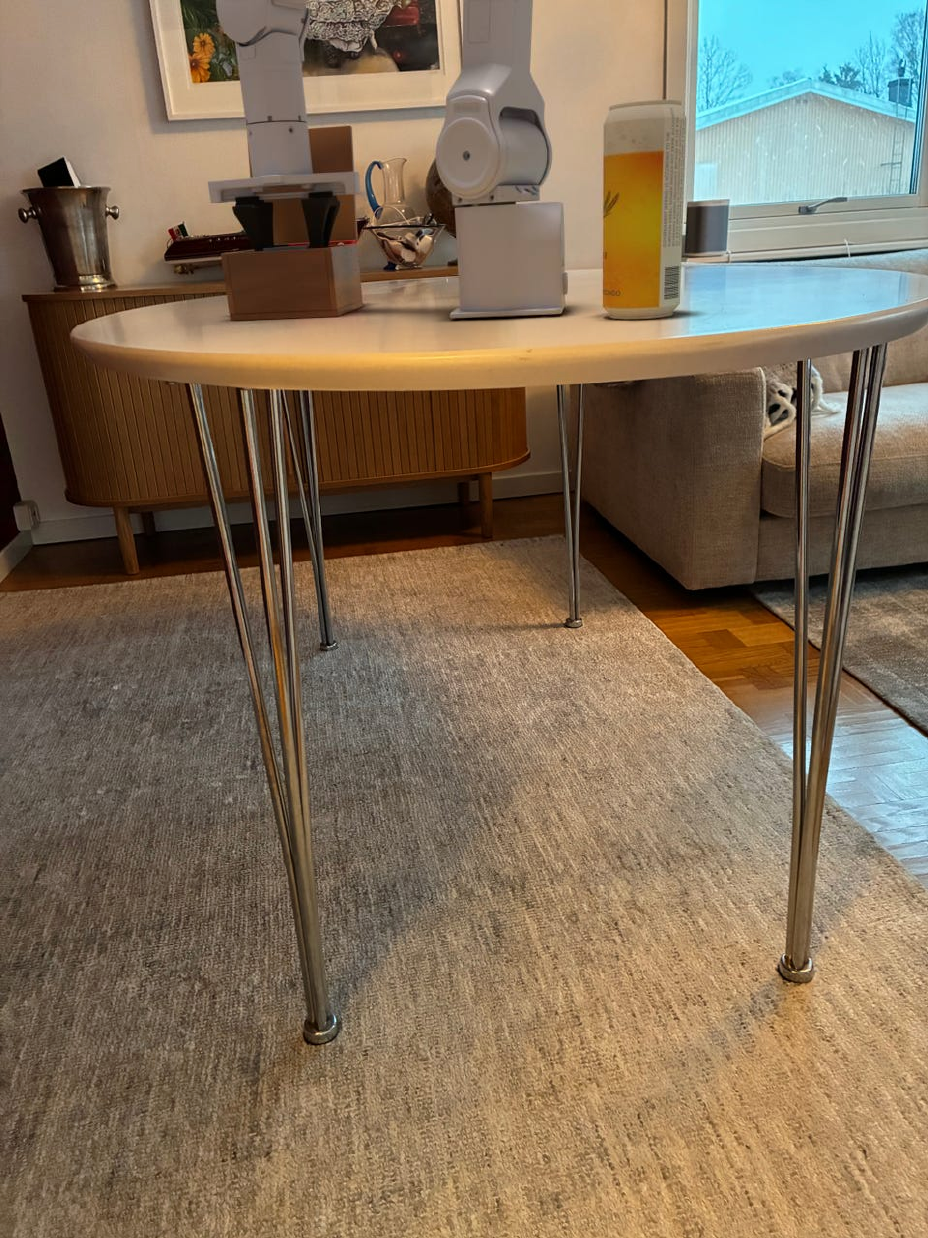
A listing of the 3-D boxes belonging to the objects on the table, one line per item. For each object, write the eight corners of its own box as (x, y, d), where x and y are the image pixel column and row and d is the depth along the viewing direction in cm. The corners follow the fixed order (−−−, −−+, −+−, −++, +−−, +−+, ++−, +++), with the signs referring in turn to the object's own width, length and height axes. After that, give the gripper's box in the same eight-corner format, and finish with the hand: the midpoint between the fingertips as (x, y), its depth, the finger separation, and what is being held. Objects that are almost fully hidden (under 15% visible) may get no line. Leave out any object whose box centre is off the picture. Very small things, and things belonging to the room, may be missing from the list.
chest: (337, 316, 88) (330, 247, 86) (230, 320, 90) (220, 253, 87) (363, 306, 97) (357, 243, 95) (264, 310, 99) (256, 248, 96)
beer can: (626, 310, 79) (629, 110, 73) (692, 312, 75) (701, 101, 69) (588, 319, 74) (588, 106, 68) (656, 320, 71) (662, 96, 65)
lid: (350, 124, 92) (352, 126, 92) (246, 132, 93) (248, 134, 94) (356, 239, 94) (357, 240, 95) (255, 244, 96) (257, 245, 96)
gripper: (186, 126, 84) (210, 285, 90) (340, 115, 82) (355, 278, 87) (216, 132, 91) (237, 279, 96) (360, 121, 88) (373, 273, 94)
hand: (295, 278), depth 92 cm, fingers closed on block, 4 cm apart
